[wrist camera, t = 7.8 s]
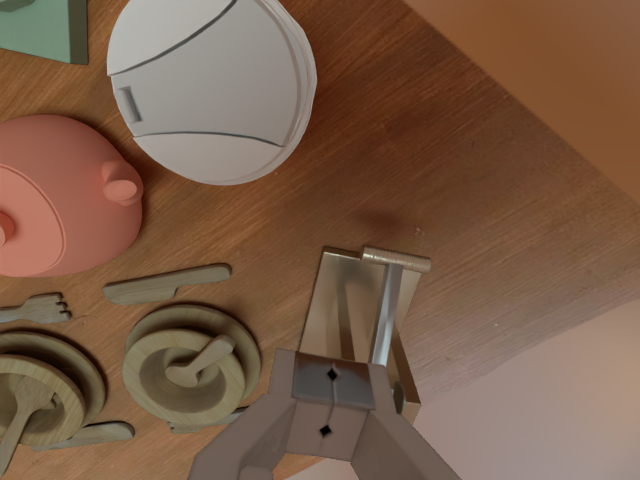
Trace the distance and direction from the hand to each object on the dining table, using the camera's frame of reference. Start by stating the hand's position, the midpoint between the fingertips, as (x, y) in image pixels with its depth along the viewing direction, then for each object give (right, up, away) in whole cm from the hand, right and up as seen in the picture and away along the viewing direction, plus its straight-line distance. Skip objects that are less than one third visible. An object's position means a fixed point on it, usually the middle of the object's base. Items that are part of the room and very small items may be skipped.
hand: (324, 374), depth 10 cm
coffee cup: (-4, +15, +18) cm, 24 cm away
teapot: (-20, +8, +21) cm, 30 cm away
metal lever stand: (+3, -3, +26) cm, 26 cm away
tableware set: (-21, -10, +28) cm, 36 cm away
